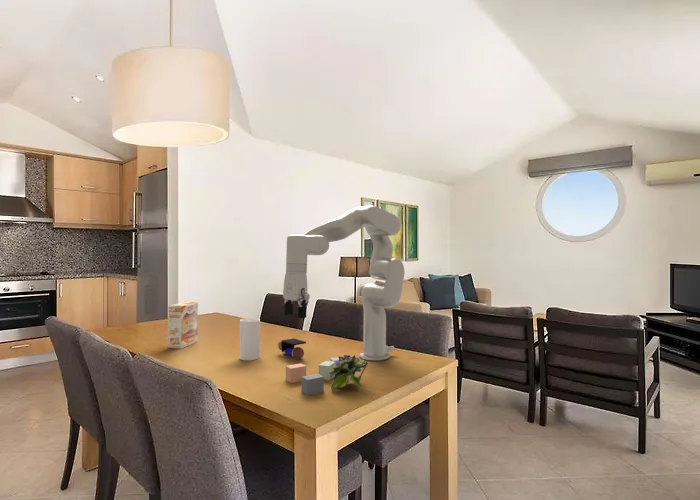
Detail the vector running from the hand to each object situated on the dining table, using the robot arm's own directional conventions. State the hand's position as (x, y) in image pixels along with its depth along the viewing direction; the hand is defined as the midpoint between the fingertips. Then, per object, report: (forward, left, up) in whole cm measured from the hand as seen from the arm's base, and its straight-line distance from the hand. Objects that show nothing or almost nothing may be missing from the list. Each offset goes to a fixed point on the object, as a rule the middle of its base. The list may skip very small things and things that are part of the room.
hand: (295, 316), depth 154 cm
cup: (+5, -33, -22) cm, 40 cm away
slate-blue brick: (-16, +4, -22) cm, 28 cm away
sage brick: (-9, +7, -22) cm, 25 cm away
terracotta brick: (+2, +4, -22) cm, 22 cm away
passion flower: (-10, +21, -22) cm, 32 cm away
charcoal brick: (+3, +18, -22) cm, 29 cm away
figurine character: (-11, -26, -22) cm, 36 cm away
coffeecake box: (+23, -72, -22) cm, 78 cm away
